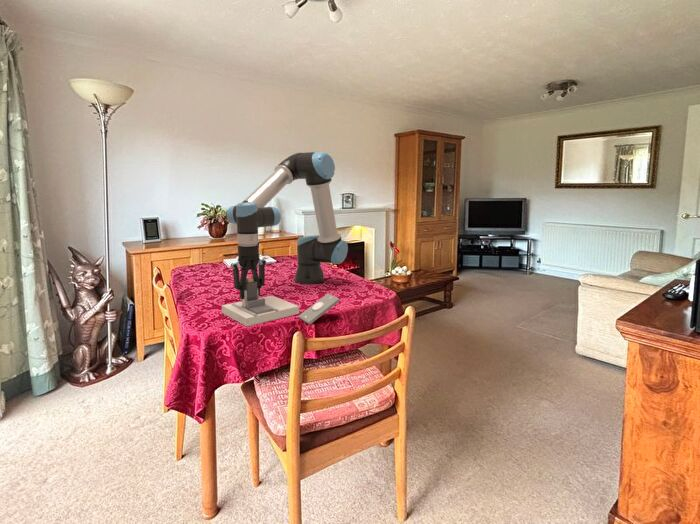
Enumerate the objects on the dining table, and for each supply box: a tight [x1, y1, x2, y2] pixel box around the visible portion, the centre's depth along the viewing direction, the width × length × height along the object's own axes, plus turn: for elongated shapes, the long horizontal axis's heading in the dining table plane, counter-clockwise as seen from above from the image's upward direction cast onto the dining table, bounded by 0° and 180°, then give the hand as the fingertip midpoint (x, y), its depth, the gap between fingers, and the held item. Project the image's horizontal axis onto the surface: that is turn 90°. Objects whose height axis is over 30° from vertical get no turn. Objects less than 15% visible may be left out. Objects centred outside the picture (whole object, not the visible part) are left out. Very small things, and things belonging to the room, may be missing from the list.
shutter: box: [247, 297, 273, 314], centre depth 149 cm, size 7×7×3 cm
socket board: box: [221, 295, 300, 327], centre depth 155 cm, size 20×22×4 cm
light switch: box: [298, 293, 341, 325], centre depth 150 cm, size 8×6×14 cm
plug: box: [244, 277, 259, 308], centre depth 153 cm, size 4×4×11 cm
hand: (250, 305), depth 154 cm, fingers closed on plug, 4 cm apart
